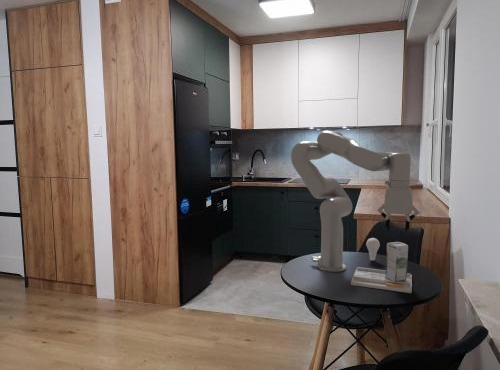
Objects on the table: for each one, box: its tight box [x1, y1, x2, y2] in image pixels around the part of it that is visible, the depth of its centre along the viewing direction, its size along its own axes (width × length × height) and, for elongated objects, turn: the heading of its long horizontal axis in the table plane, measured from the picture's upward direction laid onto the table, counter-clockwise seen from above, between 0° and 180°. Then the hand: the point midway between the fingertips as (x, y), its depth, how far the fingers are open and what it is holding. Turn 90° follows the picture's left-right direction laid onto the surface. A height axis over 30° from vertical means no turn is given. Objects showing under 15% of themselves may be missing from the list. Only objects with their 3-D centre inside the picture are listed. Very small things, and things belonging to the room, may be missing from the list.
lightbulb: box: [365, 237, 381, 262], centre depth 178 cm, size 6×6×11 cm
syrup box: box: [385, 241, 409, 281], centre depth 148 cm, size 6×6×14 cm
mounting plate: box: [350, 268, 413, 294], centre depth 151 cm, size 22×18×2 cm
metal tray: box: [352, 266, 411, 287], centre depth 151 cm, size 21×13×1 cm, turn 67°
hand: (397, 229), depth 147 cm, fingers open, 5 cm apart
